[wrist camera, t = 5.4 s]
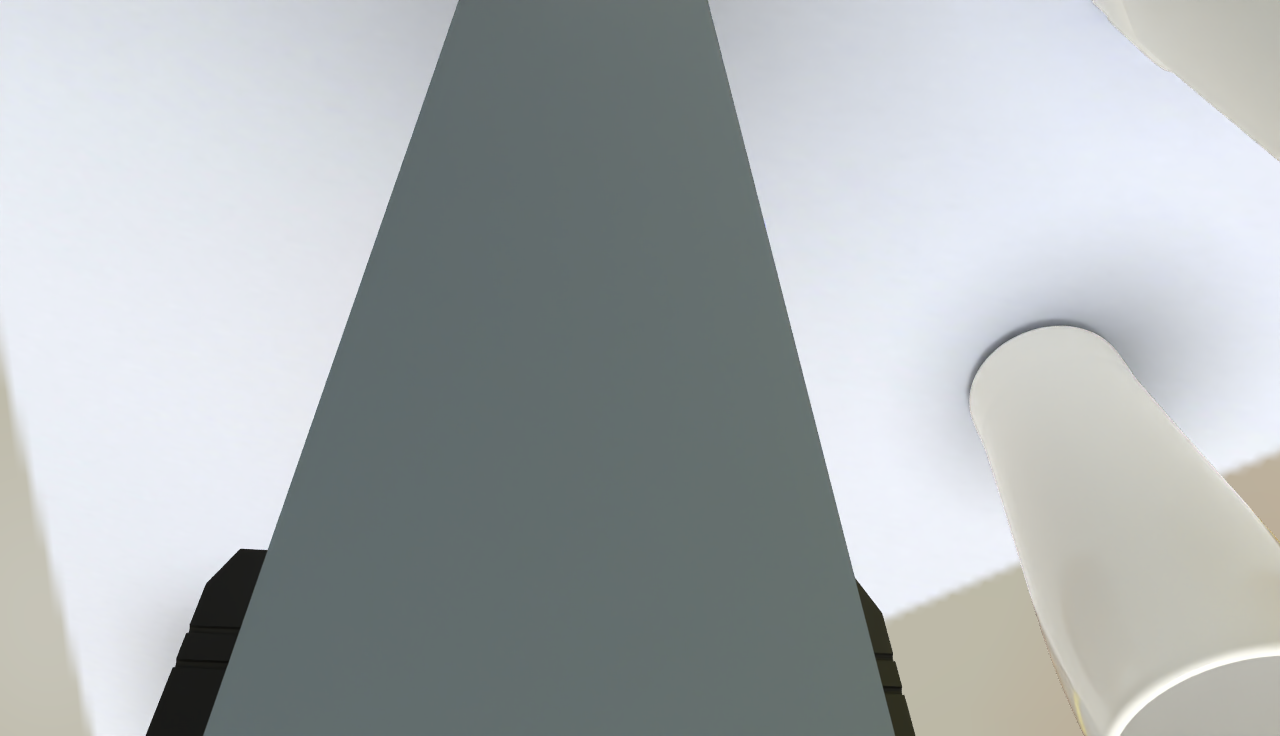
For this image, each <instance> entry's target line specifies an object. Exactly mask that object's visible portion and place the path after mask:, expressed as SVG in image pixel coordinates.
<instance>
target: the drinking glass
mask: <svg viewBox="0 0 1280 736" xmlns="http://www.w3.org/2000/svg"><path fill="white" fill-rule="evenodd" d="M969 406H970V413H971V418H972V421H973V423H974V426H975V428H976V431H977V433H978V435H979V437H980V440H981V442H982V444H983V446H984V449H985V451H986V454H987V457H988V460H989V463H990V467H991V470H992V473H993V476H994V479H995V482H996V485H997V489H998V492H999V495H1000V498H1001V501H1002V505H1003V508H1004V511H1005V514H1006V518H1007V521H1008V524H1009V527H1010V531H1011V534H1012V537H1013V540H1014V544H1015V547H1016V550H1017V554H1018V557H1019V560H1020V564H1021V567H1022V570H1023V573H1024V577H1025V580H1026V583H1027V587H1028V590H1029V593H1030V597H1031V600H1032V603H1033V606H1034V610H1035V613H1036V616H1037V619H1038V622H1039V626H1040V629H1041V632H1042V635H1043V637H1044V641H1045V643H1046V646H1047V649H1048V652H1049V655H1050V658H1051V660H1052V663H1053V666H1054V668H1055V671H1056V674H1057V676H1058V678H1059V681H1060V683H1061V686H1062V688H1063V691H1064V693H1065V695H1066V698H1067V699H1068V702H1069V705H1070V707H1071V709H1072V711H1073V714H1074V716H1075V718H1076V720H1077V722H1078V724H1079V726H1080V729H1081V731H1082V733H1083V735H1084V736H1280V542H1279V541H1278V539H1277V538H1276V537H1275V536H1274V535H1273V533H1272V532H1271V531H1270V530H1269V529H1268V528H1267V527H1266V526H1265V524H1264V523H1263V522H1262V521H1261V520H1260V519H1259V517H1258V516H1257V515H1256V514H1255V513H1254V512H1253V510H1252V509H1251V508H1250V507H1249V506H1248V505H1247V504H1246V503H1245V502H1244V500H1243V499H1242V498H1241V497H1240V496H1239V495H1238V494H1237V493H1236V491H1234V489H1233V488H1232V487H1231V486H1230V485H1229V484H1228V482H1227V481H1226V480H1225V479H1224V478H1223V477H1222V476H1221V475H1220V473H1219V472H1218V471H1217V470H1216V469H1215V468H1214V467H1213V466H1212V464H1211V463H1210V462H1209V461H1208V460H1207V459H1206V458H1205V457H1204V455H1203V454H1202V453H1201V452H1200V451H1199V450H1198V449H1197V448H1196V446H1195V445H1194V444H1193V443H1192V442H1191V441H1190V440H1189V438H1188V437H1187V436H1186V435H1185V434H1184V433H1183V432H1182V431H1181V429H1180V428H1179V427H1178V426H1177V425H1176V424H1175V423H1174V421H1173V420H1172V419H1171V418H1170V417H1169V416H1168V415H1167V413H1166V412H1165V411H1164V410H1163V409H1162V408H1161V407H1160V405H1159V404H1158V403H1157V402H1156V401H1155V400H1154V398H1153V397H1152V396H1151V395H1150V394H1149V393H1148V391H1147V390H1146V389H1145V388H1144V387H1143V386H1142V384H1141V383H1140V382H1139V381H1138V380H1137V379H1136V377H1135V376H1134V375H1133V373H1132V372H1131V370H1130V369H1129V367H1128V366H1127V364H1126V363H1125V361H1124V360H1123V359H1122V357H1121V356H1120V355H1119V353H1118V352H1117V351H1116V349H1115V348H1114V347H1113V346H1112V345H1111V344H1110V343H1109V342H1108V341H1106V340H1105V339H1104V338H1102V337H1100V336H1099V335H1097V334H1095V333H1093V332H1091V331H1088V330H1085V329H1082V328H1078V327H1072V326H1048V327H1042V328H1037V329H1034V330H1030V331H1028V332H1025V333H1022V334H1020V335H1018V336H1016V337H1014V338H1012V339H1010V340H1009V341H1007V342H1005V343H1004V344H1002V345H1001V346H1000V347H998V348H997V349H996V350H995V351H994V352H993V353H992V354H991V355H990V356H989V357H988V358H987V359H986V360H985V361H984V363H983V364H982V365H981V367H980V368H979V370H978V372H977V374H976V376H975V378H974V380H973V383H972V386H971V390H970V397H969Z"/></svg>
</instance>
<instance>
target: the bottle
mask: <svg viewBox="0 0 1280 736" xmlns="http://www.w3.org/2000/svg"><path fill="white" fill-rule="evenodd" d="M1092 2H1093V4H1094V5H1095V6H1097V7H1098V8H1099V9H1100V10H1101V11H1102V12H1103V13H1104V14H1105V15H1106V16H1107V18H1108V20H1109V21H1110V23H1111V24H1112V25H1113V26H1114V27H1115V28H1116V29H1117V30H1119V31H1120V32H1121V33H1122V34H1123V35H1124V36H1125V37H1126V38H1127V39H1128V40H1129V41H1130V42H1131V43H1133V44H1134V45H1135V46H1136V47H1137V48H1138V49H1139V50H1140V51H1141V52H1142V53H1143V54H1144V55H1146V56H1147V57H1148V58H1149V59H1150V60H1151V61H1152V62H1154V63H1155V64H1156V65H1158V66H1159V67H1161V68H1162V69H1163V70H1166V71H1169V72H1172V73H1174V74H1175V75H1176V76H1177V77H1179V78H1180V79H1181V80H1182V81H1183V82H1184V83H1186V84H1187V85H1188V86H1189V87H1190V88H1192V89H1193V90H1194V91H1195V92H1196V93H1198V94H1199V95H1200V96H1201V97H1202V98H1204V99H1205V100H1206V101H1207V102H1208V103H1210V104H1211V105H1212V106H1213V107H1214V108H1216V109H1217V110H1218V111H1219V112H1220V113H1222V114H1223V115H1224V116H1225V117H1226V118H1228V119H1229V120H1230V121H1231V122H1232V123H1234V124H1235V125H1236V126H1237V127H1238V128H1240V129H1241V130H1242V131H1243V132H1244V133H1246V134H1247V135H1248V136H1249V137H1250V138H1252V139H1253V140H1254V141H1255V142H1256V143H1258V144H1259V145H1260V146H1261V147H1262V148H1264V149H1265V150H1266V151H1267V152H1268V153H1270V154H1271V155H1272V156H1273V157H1274V158H1276V159H1277V160H1278V161H1279V162H1280V0H1092Z"/></svg>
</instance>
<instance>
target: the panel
mask: <svg viewBox="0 0 1280 736" xmlns="http://www.w3.org/2000/svg"><path fill="white" fill-rule="evenodd" d="M203 736H895V734H894V730H893V726H892V722H891V718H890V714H889V710H888V706H887V702H886V698H885V694H884V690H883V686H882V683H881V679H880V675H879V671H878V667H877V663H876V659H875V655H874V651H873V647H872V643H871V639H870V636H869V632H868V628H867V624H866V620H865V616H864V612H863V608H862V604H861V600H860V596H859V592H858V588H857V585H856V581H855V577H854V573H853V569H852V565H851V561H850V557H849V553H848V549H847V545H846V541H845V537H844V534H843V530H842V526H841V522H840V518H839V514H838V510H837V506H836V502H835V498H834V494H833V490H832V486H831V483H830V479H829V475H828V471H827V467H826V463H825V459H824V455H823V451H822V447H821V443H820V439H819V435H818V432H817V428H816V424H815V420H814V416H813V412H812V408H811V404H810V400H809V396H808V392H807V388H806V384H805V381H804V377H803V373H802V369H801V365H800V361H799V357H798V353H797V349H796V345H795V341H794V337H793V333H792V330H791V326H790V322H789V318H788V314H787V310H786V306H785V302H784V298H783V294H782V290H781V286H780V282H779V279H778V275H777V271H776V267H775V263H774V259H773V255H772V251H771V247H770V243H769V239H768V235H767V232H766V228H765V224H764V220H763V216H762V212H761V208H760V204H759V200H758V196H757V192H756V188H755V184H754V181H753V177H752V173H751V169H750V165H749V161H748V157H747V153H746V149H745V145H744V141H743V137H742V133H741V130H740V126H739V122H738V118H737V114H736V110H735V106H734V102H733V98H732V94H731V90H730V86H729V82H728V79H727V75H726V71H725V67H724V63H723V59H722V55H721V51H720V47H719V43H718V39H717V35H716V31H715V28H714V24H713V20H712V16H711V12H710V8H709V4H708V0H459V2H458V5H457V8H456V10H455V13H454V16H453V19H452V22H451V25H450V28H449V31H448V33H447V36H446V39H445V42H444V45H443V48H442V51H441V54H440V56H439V59H438V62H437V65H436V68H435V71H434V74H433V77H432V79H431V82H430V85H429V88H428V91H427V94H426V97H425V100H424V102H423V105H422V108H421V111H420V114H419V117H418V120H417V123H416V125H415V128H414V131H413V134H412V137H411V140H410V143H409V146H408V148H407V151H406V154H405V157H404V160H403V163H402V166H401V169H400V171H399V174H398V177H397V180H396V183H395V186H394V189H393V192H392V194H391V197H390V200H389V203H388V206H387V209H386V212H385V215H384V217H383V220H382V223H381V226H380V229H379V232H378V235H377V238H376V240H375V243H374V246H373V249H372V252H371V255H370V258H369V261H368V263H367V266H366V269H365V272H364V275H363V278H362V281H361V284H360V286H359V289H358V292H357V295H356V298H355V301H354V304H353V307H352V309H351V312H350V315H349V318H348V321H347V324H346V327H345V330H344V332H343V335H342V338H341V341H340V344H339V347H338V350H337V353H336V355H335V358H334V361H333V364H332V367H331V370H330V373H329V376H328V378H327V381H326V384H325V387H324V390H323V393H322V396H321V399H320V401H319V404H318V407H317V410H316V413H315V416H314V419H313V422H312V424H311V427H310V430H309V433H308V436H307V439H306V442H305V445H304V447H303V450H302V453H301V456H300V459H299V462H298V465H297V468H296V470H295V473H294V476H293V479H292V482H291V485H290V488H289V491H288V493H287V496H286V499H285V502H284V505H283V508H282V511H281V514H280V516H279V519H278V522H277V525H276V528H275V531H274V534H273V537H272V539H271V542H270V545H269V548H268V551H267V554H266V557H265V560H264V562H263V565H262V568H261V571H260V574H259V577H258V580H257V583H256V585H255V588H254V591H253V594H252V597H251V600H250V603H249V606H248V608H247V611H246V614H245V617H244V620H243V623H242V626H241V629H240V631H239V634H238V637H237V640H236V643H235V646H234V649H233V652H232V654H231V657H230V660H229V663H228V666H227V669H226V672H225V675H224V677H223V680H222V683H221V686H220V689H219V692H218V695H217V698H216V700H215V703H214V706H213V709H212V712H211V715H210V718H209V721H208V723H207V726H206V729H205V732H204V735H203Z"/></svg>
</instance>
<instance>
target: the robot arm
mask: <svg viewBox="0 0 1280 736" xmlns="http://www.w3.org/2000/svg"><path fill="white" fill-rule="evenodd" d="M267 551H268V550H254V549H240V550H239V551H238V552H237V553H236V554H235V555H234V556H233V557H232V558H231V559H230V560H229V561H228V562H227V563H226V564H225V565H224V566H223V567H222V568H221V569H220V570H219V571H218V572H217V573H216V574H215V575H214V576H213V577H212V578H211V579H210V580H209V581H208V582H207V583H206V585H205V588H204V590H203V593H202V595H201V598H200V600H199V603H198V605H197V608H196V610H195V613H194V615H193V618H192V620H191V623H190V630H189V633H186V635H185V638H184V640H183V643H182V646H181V648H180V651H179V653H178V656H177V658H176V666H175V667H173V668H172V671H171V673H170V676H169V678H168V681H167V683H166V686H165V688H164V691H163V693H162V696H161V698H160V701H159V703H158V706H157V708H156V711H155V713H154V716H153V718H152V721H151V724H150V726H149V729H148V731H147V734H146V736H203V735H204V732H205V729H206V726H207V723H208V721H209V718H210V715H211V712H212V709H213V706H214V703H215V700H216V698H217V695H218V692H219V689H220V686H221V683H222V680H223V677H224V675H225V672H226V669H227V666H228V663H229V660H230V657H231V654H232V652H233V649H234V646H235V643H236V640H237V637H238V634H239V631H240V629H241V626H242V623H243V620H244V617H245V614H246V611H247V608H248V606H249V603H250V600H251V597H252V594H253V591H254V588H255V585H256V583H257V580H258V577H259V574H260V571H261V568H262V565H263V562H264V560H265V557H266V554H267ZM855 581H856V585H857V588H858V592H859V596H860V600H861V604H862V608H863V612H864V616H865V620H866V624H867V628H868V632H869V636H870V639H871V643H872V647H873V651H874V655H875V659H876V663H877V667H878V671H879V675H880V679H881V683H882V686H883V690H884V694H885V698H886V702H887V706H888V710H889V714H890V718H891V722H892V726H893V730H894V734H895V736H915V732H914V729H913V726H912V721H911V718H910V714H909V710H908V707H907V703H906V699H905V696H904V695H902V685H901V681H900V677H899V674H898V670H897V666H896V663H895V661H893V652H892V648H891V644H890V641H889V637H888V633H887V629H886V626H885V622H884V618H883V615H882V612H881V611H880V610H879V608H878V607H877V606H876V605H875V603H874V602H873V601H872V599H871V598H870V597H869V596H868V594H867V593H866V592H865V590H864V589H863V588H862V586H861V585H860V584H859V583H858V581H857V580H856V579H855Z"/></svg>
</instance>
